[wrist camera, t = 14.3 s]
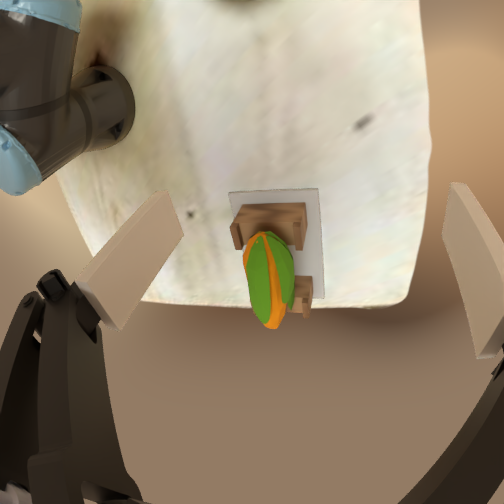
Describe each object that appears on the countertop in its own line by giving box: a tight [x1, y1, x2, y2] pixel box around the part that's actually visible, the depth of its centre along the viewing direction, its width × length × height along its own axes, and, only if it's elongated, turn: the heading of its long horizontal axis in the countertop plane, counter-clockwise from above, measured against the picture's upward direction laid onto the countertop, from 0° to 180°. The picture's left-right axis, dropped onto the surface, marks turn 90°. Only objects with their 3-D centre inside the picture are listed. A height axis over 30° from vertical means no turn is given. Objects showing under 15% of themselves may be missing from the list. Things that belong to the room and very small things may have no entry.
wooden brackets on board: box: [230, 202, 313, 318], centre depth 49 cm, size 10×19×7 cm, turn 11°
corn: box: [243, 231, 295, 329], centre depth 45 cm, size 7×8×20 cm
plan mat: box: [228, 188, 324, 299], centre depth 52 cm, size 14×23×1 cm, turn 11°
